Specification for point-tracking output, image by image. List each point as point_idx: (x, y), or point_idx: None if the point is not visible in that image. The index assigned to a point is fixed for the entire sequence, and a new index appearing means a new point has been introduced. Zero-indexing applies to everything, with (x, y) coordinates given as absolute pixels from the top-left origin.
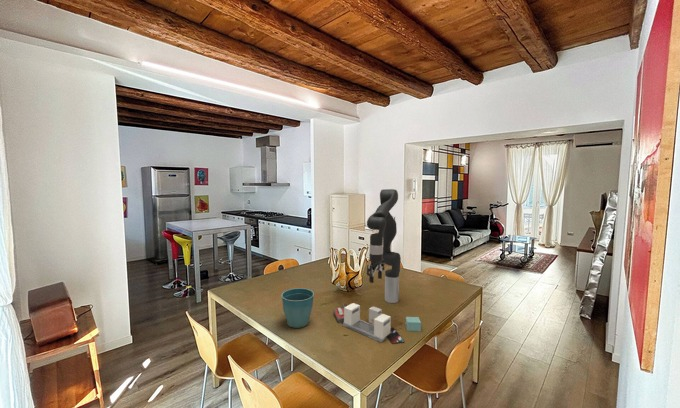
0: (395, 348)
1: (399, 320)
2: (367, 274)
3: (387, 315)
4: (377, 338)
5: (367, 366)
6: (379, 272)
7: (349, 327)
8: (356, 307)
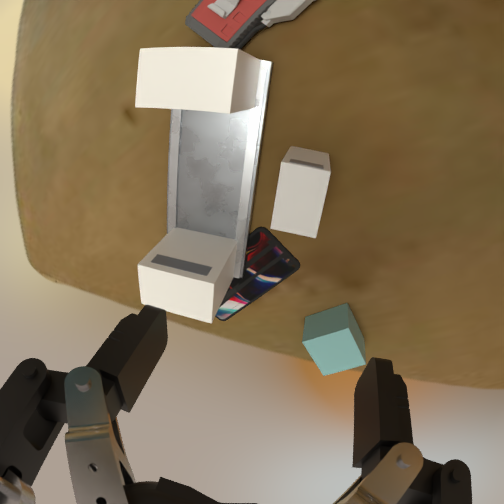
0: None
1: (378, 272)
2: (20, 376)
3: (211, 309)
4: None
5: (69, 257)
6: (365, 451)
7: None
8: (189, 109)
